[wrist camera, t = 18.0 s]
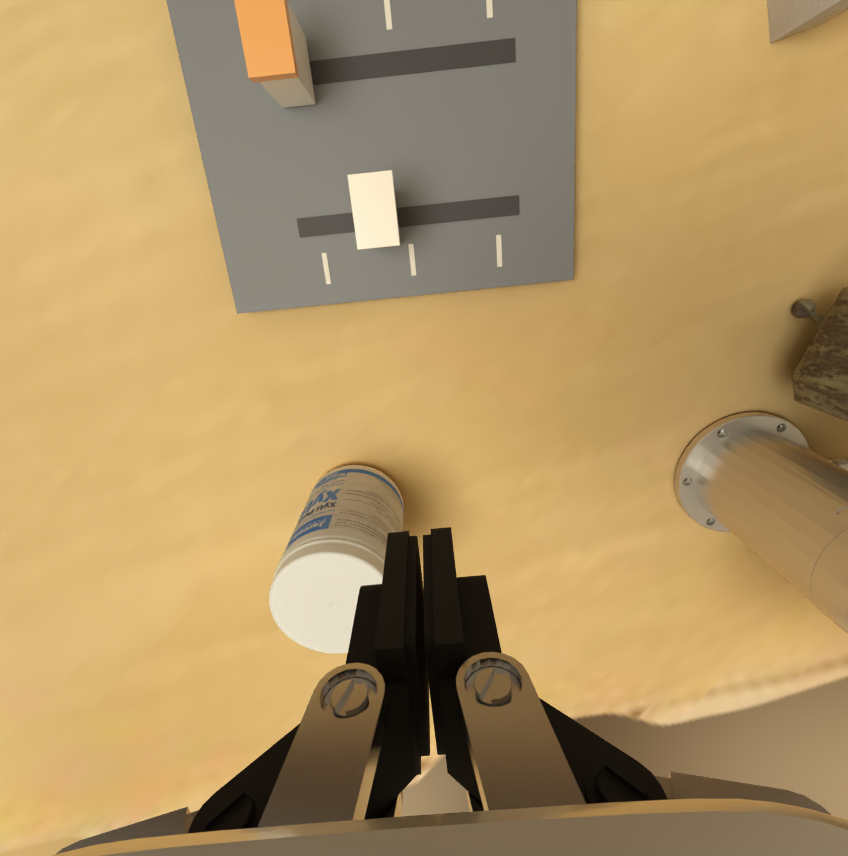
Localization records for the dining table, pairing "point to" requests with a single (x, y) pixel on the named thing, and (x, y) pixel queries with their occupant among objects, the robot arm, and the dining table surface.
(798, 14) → the tea bag
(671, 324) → the dining table surface
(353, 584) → the supplement tub
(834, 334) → the tabletop clock
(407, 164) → the panel
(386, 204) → the fader cream
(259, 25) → the fader orange
